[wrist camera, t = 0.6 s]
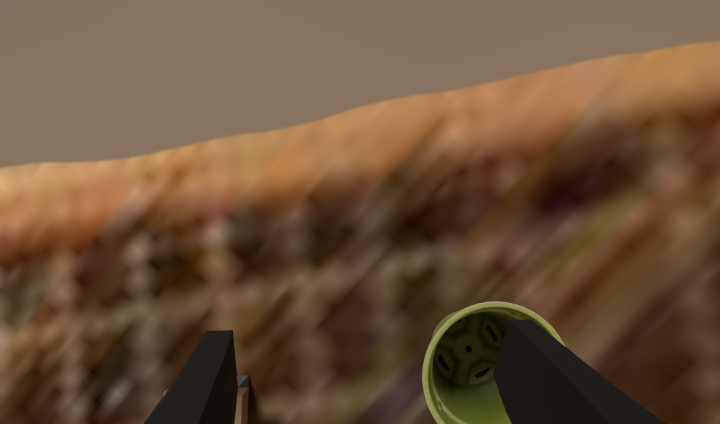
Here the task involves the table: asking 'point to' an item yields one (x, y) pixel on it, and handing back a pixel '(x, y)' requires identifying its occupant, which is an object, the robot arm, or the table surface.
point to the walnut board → (240, 405)
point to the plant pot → (470, 363)
